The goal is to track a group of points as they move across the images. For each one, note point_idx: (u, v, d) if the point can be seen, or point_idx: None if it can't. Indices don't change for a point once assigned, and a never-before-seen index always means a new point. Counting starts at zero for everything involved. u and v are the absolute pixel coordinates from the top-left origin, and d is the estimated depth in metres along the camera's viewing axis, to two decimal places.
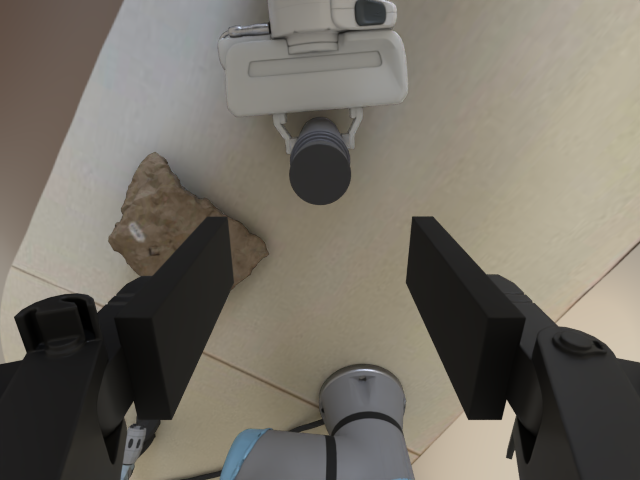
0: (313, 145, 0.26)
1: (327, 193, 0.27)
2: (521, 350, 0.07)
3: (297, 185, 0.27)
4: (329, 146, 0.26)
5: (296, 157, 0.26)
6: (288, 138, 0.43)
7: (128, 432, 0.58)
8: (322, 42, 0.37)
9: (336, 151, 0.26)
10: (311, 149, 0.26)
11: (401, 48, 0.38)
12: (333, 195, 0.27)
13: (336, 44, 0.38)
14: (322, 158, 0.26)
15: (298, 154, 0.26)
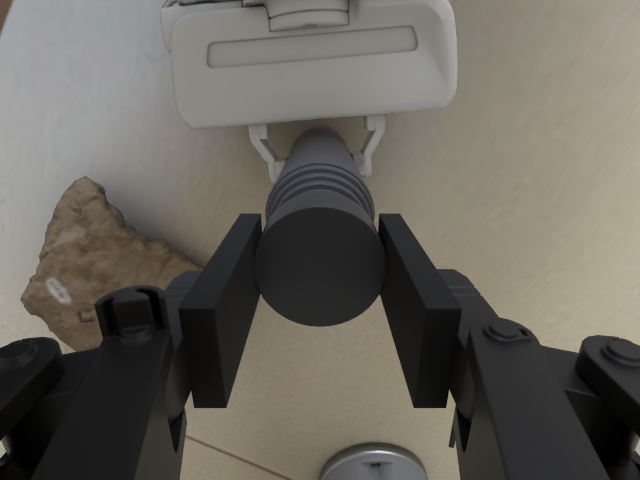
0: (305, 209, 0.12)
1: (335, 305, 0.13)
2: (458, 340, 0.08)
3: (271, 290, 0.13)
4: (341, 211, 0.12)
5: (267, 234, 0.12)
6: (272, 161, 0.29)
7: None
8: (323, 10, 0.23)
9: (356, 222, 0.12)
10: (300, 218, 0.12)
11: (450, 21, 0.24)
12: (348, 308, 0.13)
13: (346, 14, 0.24)
14: (325, 236, 0.12)
15: (272, 228, 0.12)
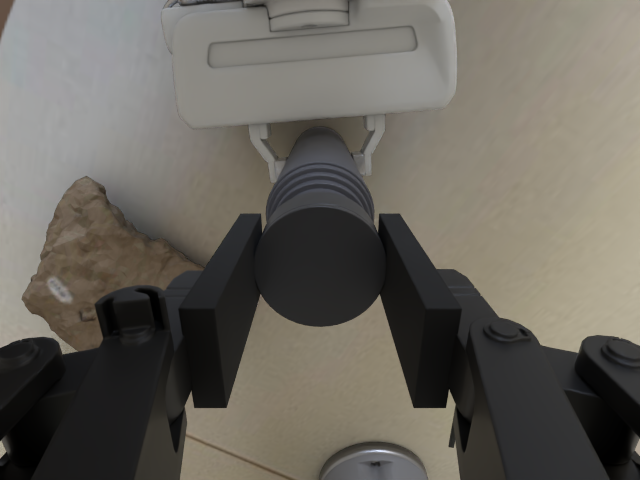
0: (276, 309, 0.13)
1: (345, 237, 0.12)
2: (458, 340, 0.08)
3: (364, 296, 0.13)
4: (259, 285, 0.13)
5: (315, 323, 0.13)
6: (272, 160, 0.29)
7: None
8: (324, 10, 0.23)
9: (258, 269, 0.12)
10: (285, 309, 0.13)
11: (450, 21, 0.24)
12: (342, 223, 0.12)
13: (346, 15, 0.24)
14: (287, 284, 0.13)
15: (308, 323, 0.13)
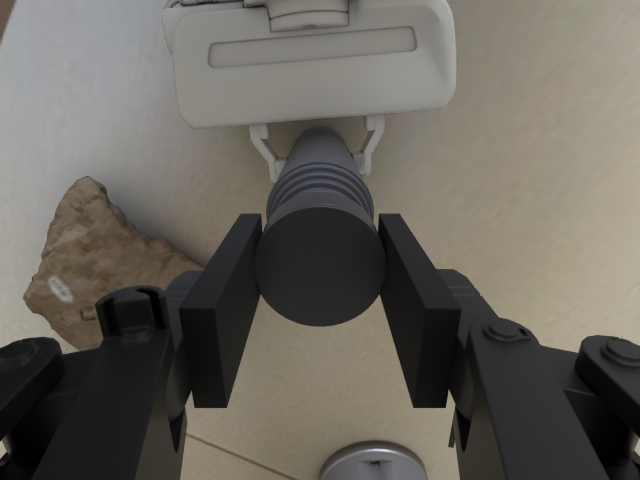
0: (382, 281, 0.13)
1: (276, 269, 0.12)
2: (457, 340, 0.08)
3: (320, 219, 0.12)
4: (365, 307, 0.13)
5: (377, 242, 0.12)
6: (273, 160, 0.29)
7: None
8: (324, 11, 0.23)
9: (350, 315, 0.13)
10: (377, 275, 0.12)
11: (449, 21, 0.24)
12: (267, 277, 0.12)
13: (346, 15, 0.24)
14: (350, 287, 0.13)
15: (380, 248, 0.12)
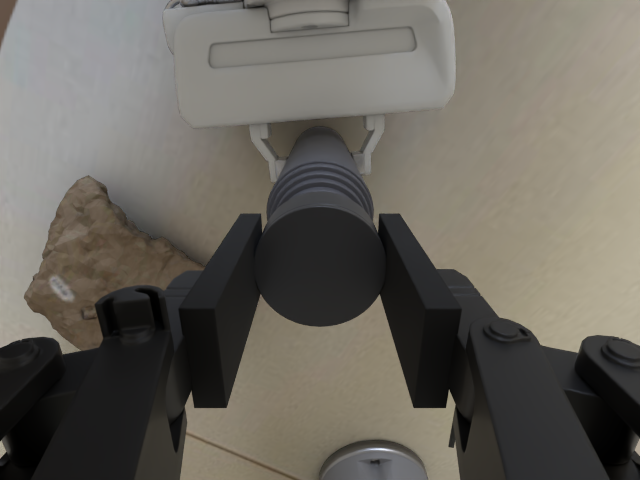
0: (295, 212, 0.12)
1: (341, 302, 0.13)
2: (458, 340, 0.08)
3: (275, 296, 0.13)
4: (331, 209, 0.12)
5: (262, 242, 0.12)
6: (273, 160, 0.29)
7: None
8: (324, 11, 0.23)
9: (348, 217, 0.12)
10: (292, 221, 0.12)
11: (448, 22, 0.24)
12: (354, 304, 0.13)
13: (346, 16, 0.24)
14: (319, 236, 0.12)
15: (266, 235, 0.12)
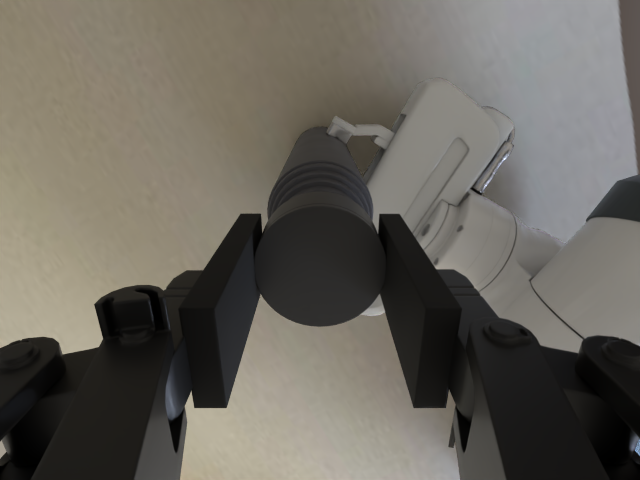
0: (295, 212, 0.12)
1: (341, 302, 0.13)
2: (458, 340, 0.08)
3: (275, 296, 0.13)
4: (331, 209, 0.12)
5: (262, 242, 0.12)
6: (353, 133, 0.28)
7: None
8: (427, 246, 0.30)
9: (348, 217, 0.12)
10: (292, 221, 0.12)
11: None
12: (354, 304, 0.13)
13: None
14: (319, 236, 0.12)
15: (266, 235, 0.12)
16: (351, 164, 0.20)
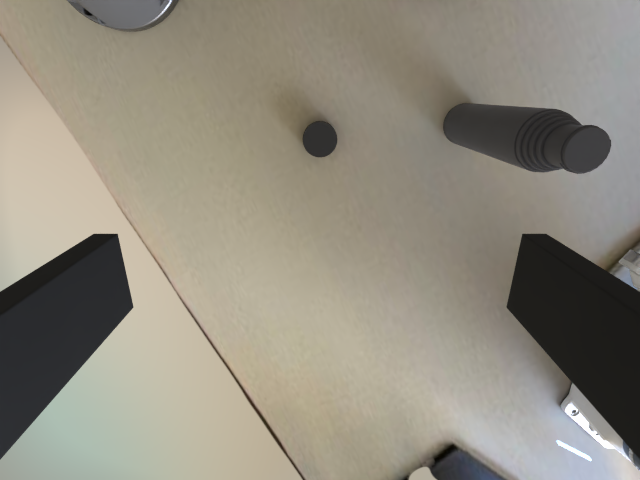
0: (313, 123, 0.48)
1: (325, 149, 0.49)
2: None
3: (308, 147, 0.49)
4: (322, 123, 0.48)
5: (305, 131, 0.48)
6: None
7: None
8: None
9: (326, 125, 0.48)
10: (313, 126, 0.48)
11: None
12: (329, 150, 0.49)
13: None
14: (319, 130, 0.48)
15: (306, 130, 0.48)
16: None
